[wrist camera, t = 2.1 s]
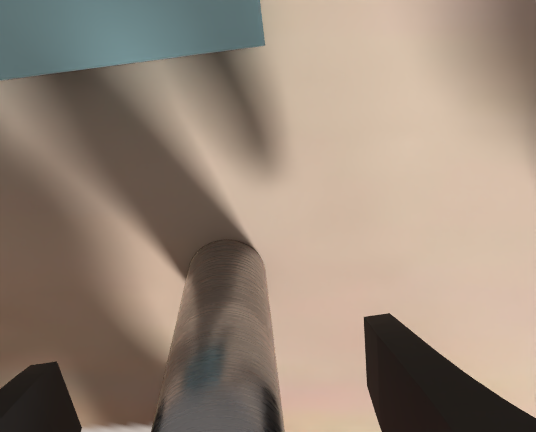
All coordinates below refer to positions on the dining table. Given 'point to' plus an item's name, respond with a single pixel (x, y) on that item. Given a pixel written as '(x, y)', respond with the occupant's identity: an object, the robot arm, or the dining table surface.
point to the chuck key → (222, 348)
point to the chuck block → (119, 32)
